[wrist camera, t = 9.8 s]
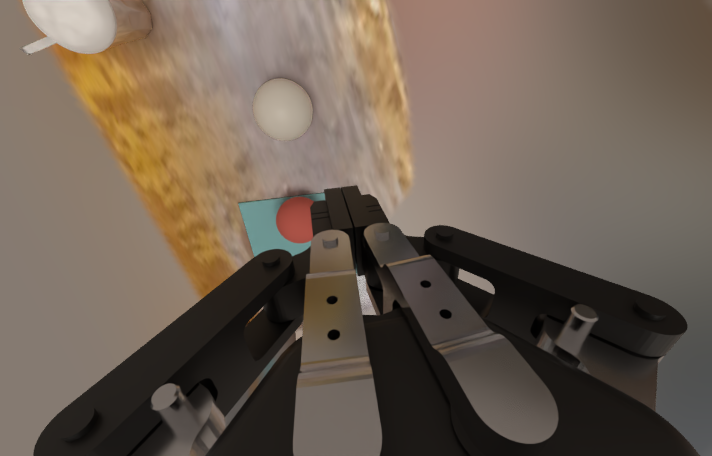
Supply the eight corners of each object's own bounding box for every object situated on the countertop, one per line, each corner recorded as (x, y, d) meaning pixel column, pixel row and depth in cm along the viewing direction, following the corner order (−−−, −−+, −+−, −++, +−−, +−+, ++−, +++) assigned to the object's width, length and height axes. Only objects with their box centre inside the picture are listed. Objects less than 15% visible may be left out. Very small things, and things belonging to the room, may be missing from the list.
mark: (358, 272, 45) (358, 273, 44) (263, 286, 43) (263, 287, 43) (354, 189, 37) (354, 189, 37) (238, 202, 35) (238, 203, 35)
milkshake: (80, 20, 24) (-30, 15, 16) (115, -36, 22) (14, -75, 14) (138, 67, 26) (68, 83, 18) (172, 19, 25) (114, 12, 17)
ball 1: (300, 62, 25) (302, 80, 30) (236, 80, 24) (249, 95, 29) (321, 128, 26) (319, 134, 31) (261, 146, 26) (269, 149, 31)
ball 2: (315, 186, 32) (316, 196, 38) (266, 200, 32) (274, 208, 37) (330, 233, 32) (328, 237, 38) (280, 248, 31) (286, 250, 37)
